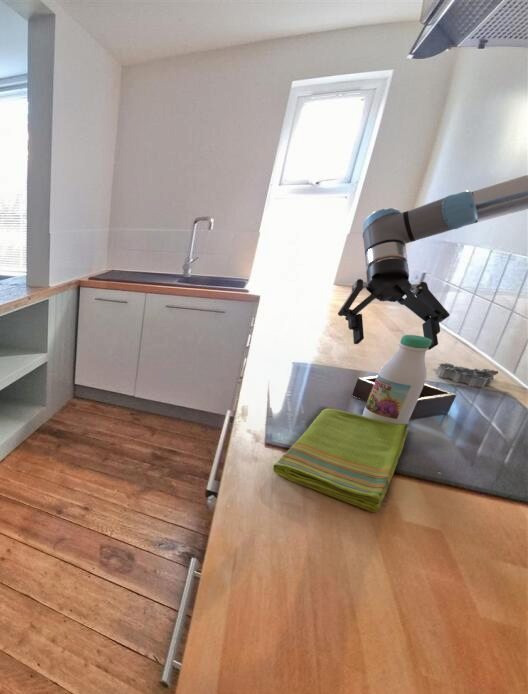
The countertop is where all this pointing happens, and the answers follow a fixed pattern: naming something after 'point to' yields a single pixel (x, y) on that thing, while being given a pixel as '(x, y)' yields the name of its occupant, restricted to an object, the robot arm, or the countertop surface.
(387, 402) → the milk bottle
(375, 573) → the countertop surface
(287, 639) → the countertop surface
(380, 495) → the dish towel
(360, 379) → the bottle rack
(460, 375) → the egg carton
